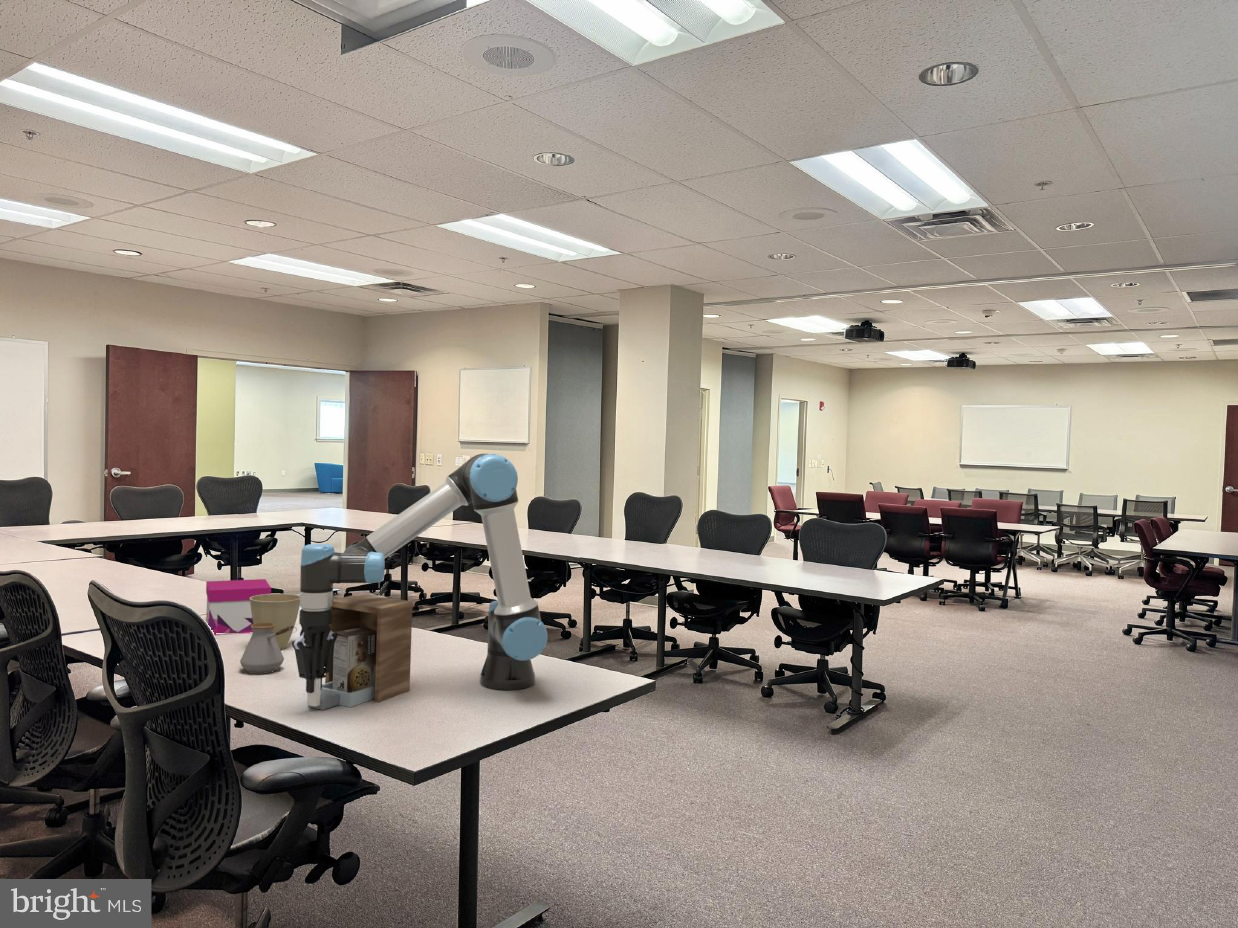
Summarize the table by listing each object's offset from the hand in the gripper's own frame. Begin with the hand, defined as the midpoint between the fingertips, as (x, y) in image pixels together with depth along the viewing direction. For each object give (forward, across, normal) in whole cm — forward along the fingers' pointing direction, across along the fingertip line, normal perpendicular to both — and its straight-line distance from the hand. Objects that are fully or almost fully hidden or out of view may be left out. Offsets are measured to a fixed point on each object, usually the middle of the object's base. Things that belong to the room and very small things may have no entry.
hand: (313, 704), depth 206 cm
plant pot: (+2, -39, -56) cm, 68 cm away
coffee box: (+1, -14, 0) cm, 14 cm away
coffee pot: (+2, -18, -34) cm, 39 cm away
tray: (+1, -10, 0) cm, 11 cm away
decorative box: (+2, -52, -88) cm, 102 cm away
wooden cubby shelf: (+2, -19, 0) cm, 19 cm away
